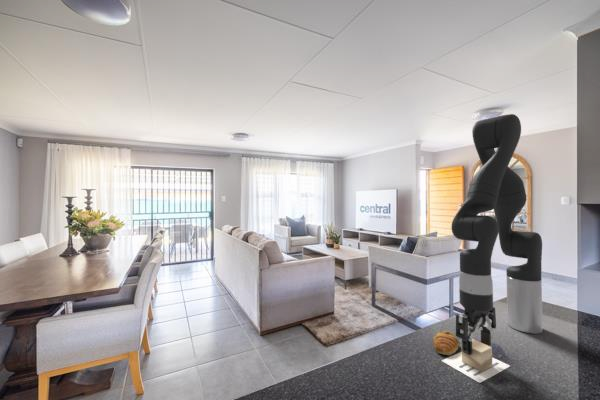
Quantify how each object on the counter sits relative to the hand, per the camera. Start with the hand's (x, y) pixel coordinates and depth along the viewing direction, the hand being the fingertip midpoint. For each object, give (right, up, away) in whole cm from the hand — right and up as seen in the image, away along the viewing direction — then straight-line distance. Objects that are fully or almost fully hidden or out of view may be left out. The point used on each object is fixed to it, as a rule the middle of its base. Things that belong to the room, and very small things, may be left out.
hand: (477, 349), depth 70 cm
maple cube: (0, -4, 0) cm, 4 cm away
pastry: (-4, -5, +8) cm, 10 cm away
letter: (0, -4, 0) cm, 4 cm away
